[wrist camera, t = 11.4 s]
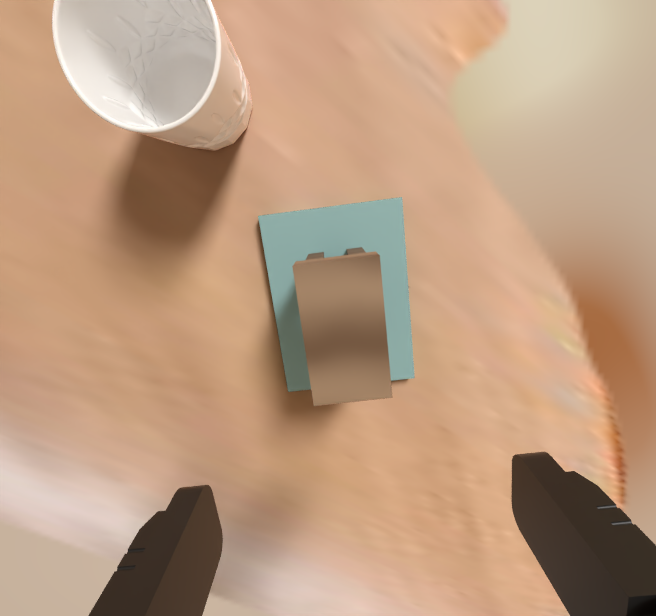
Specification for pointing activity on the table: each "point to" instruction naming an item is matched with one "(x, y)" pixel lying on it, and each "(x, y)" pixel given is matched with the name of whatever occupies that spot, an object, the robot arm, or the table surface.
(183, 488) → the robot arm
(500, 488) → the table surface
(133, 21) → the white cup
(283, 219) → the board
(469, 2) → the table surface
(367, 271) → the tan slab with prongs
